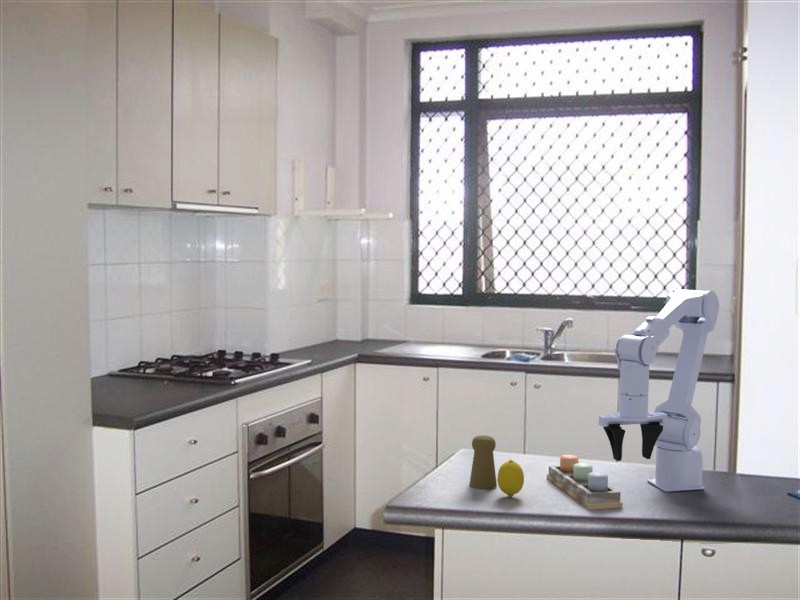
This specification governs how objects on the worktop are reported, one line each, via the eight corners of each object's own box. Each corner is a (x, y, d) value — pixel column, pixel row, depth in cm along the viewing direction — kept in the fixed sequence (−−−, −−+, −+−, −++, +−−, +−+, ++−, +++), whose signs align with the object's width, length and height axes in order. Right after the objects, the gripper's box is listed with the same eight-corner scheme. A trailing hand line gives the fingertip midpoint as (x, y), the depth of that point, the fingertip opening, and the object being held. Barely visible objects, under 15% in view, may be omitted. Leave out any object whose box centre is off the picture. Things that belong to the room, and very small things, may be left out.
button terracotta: (573, 467, 189) (573, 454, 189) (581, 472, 185) (581, 459, 185) (557, 468, 188) (557, 455, 188) (564, 473, 184) (564, 460, 184)
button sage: (587, 476, 182) (587, 462, 182) (595, 481, 178) (595, 467, 178) (570, 477, 181) (570, 463, 181) (578, 482, 178) (578, 468, 177)
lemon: (522, 502, 173) (523, 464, 173) (496, 500, 174) (496, 462, 174) (524, 493, 179) (525, 457, 178) (498, 492, 180) (498, 455, 179)
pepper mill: (465, 487, 183) (466, 438, 182) (474, 479, 188) (474, 432, 188) (492, 490, 181) (493, 440, 180) (499, 483, 186) (500, 434, 185)
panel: (546, 478, 190) (546, 465, 190) (575, 476, 192) (576, 463, 191) (589, 509, 169) (590, 495, 168) (622, 507, 170) (622, 493, 170)
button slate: (602, 485, 176) (602, 471, 175) (610, 491, 172) (611, 477, 171) (584, 486, 175) (584, 472, 174) (593, 492, 171) (593, 478, 171)
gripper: (655, 388, 177) (653, 451, 178) (592, 391, 173) (590, 455, 174) (673, 395, 170) (671, 460, 171) (608, 398, 166) (607, 464, 167)
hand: (631, 458), depth 172 cm, fingers open, 6 cm apart
